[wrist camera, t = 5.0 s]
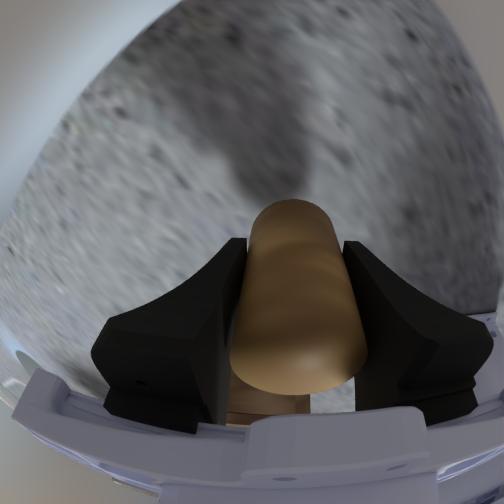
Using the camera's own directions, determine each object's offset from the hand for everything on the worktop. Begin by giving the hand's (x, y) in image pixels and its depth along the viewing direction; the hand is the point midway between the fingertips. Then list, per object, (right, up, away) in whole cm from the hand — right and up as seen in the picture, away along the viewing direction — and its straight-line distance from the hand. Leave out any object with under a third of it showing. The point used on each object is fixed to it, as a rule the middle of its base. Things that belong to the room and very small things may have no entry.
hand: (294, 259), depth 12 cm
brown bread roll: (0, +1, +2) cm, 2 cm away
